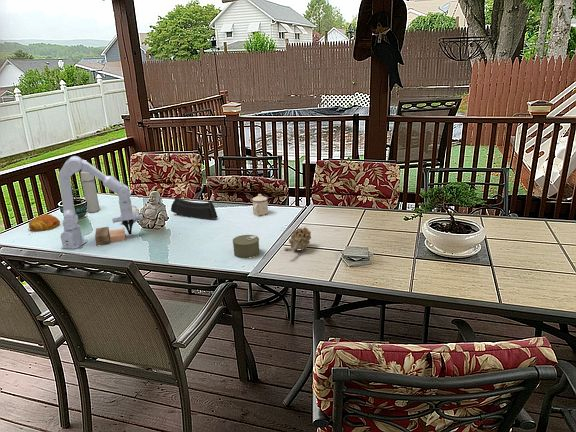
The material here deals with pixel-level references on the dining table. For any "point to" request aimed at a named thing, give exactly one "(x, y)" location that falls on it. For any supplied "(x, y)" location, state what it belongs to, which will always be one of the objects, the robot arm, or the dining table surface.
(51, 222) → the croissant
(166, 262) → the dining table surface
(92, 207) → the water bottle
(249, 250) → the can
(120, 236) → the peach rectangular prism
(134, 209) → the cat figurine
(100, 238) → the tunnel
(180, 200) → the magazine
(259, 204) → the teacup with lid
